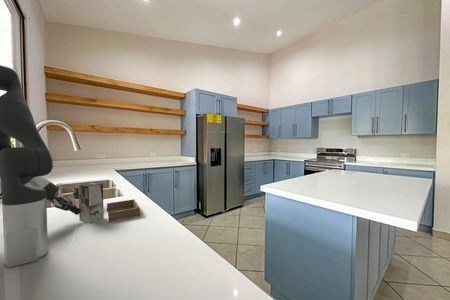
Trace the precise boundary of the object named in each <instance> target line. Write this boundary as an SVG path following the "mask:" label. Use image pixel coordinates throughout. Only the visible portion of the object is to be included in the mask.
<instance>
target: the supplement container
mask: <svg viewBox="0 0 450 300" xmlns="http://www.w3.org/2000/svg"><path fill="white" fill-rule="evenodd" d="M72 190H73V192H72V193H71V195H72V202H73V204H74V206H76V207H78V208H79V190H78V185H75V186H73V187H72Z"/></svg>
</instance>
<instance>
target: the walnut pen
mask: <svg viewBox="0 0 450 300" xmlns="http://www.w3.org/2000/svg"><path fill="white" fill-rule="evenodd" d="M140 209H141V208H140V206H139V204H138V202H137V201H136V199H127V200H120V201H114V202H108V203H106V212H107V215H108V216H107V220H108V221H107V222H108V223H112V222H116V221H121V220H126V219H132V218H137V217H140V216H141V210H140Z"/></svg>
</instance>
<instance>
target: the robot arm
mask: <svg viewBox="0 0 450 300" xmlns="http://www.w3.org/2000/svg"><path fill="white" fill-rule="evenodd" d="M0 91H3V92H5V93H3V94H2V95H0V191H1V207H2V214H1V215H2V240H3V242H2V243H3V256H4V257H3V259H4V260H3V262H4V263H3V264H4V265H5V266H6V269H7V268H8V269H9V268H12V267H16V266H20V265H21V266H22V265H26V264H28V263H33V262H37V261H39V259H40V258H42V257H44V256H45V255H47V253H48V251H49V243H48V240H49V237H48V236H49V235H48V209H47V206H48V204H47V201H49V202H51V205H53V206H54V208H56V209H59V210H62V211H65V212H68V211H70V212H71V213H72V214H74V215H76V216H77V215H79V213H80V212H81V209H79V208H78V207H76V206H74V204H73V200H71V199H70V198H69V197H68V196H67V195H66V194H62V193H58V192H59V191H60V189H61V188H60V187H59V186H57V185H56V184H54V183H53V182H51V181H50V180H48V179H47V178H45V177H44V176H47V175H49V174H51V172H52V170H53V168H54V167H53V165H54V163H53V159H52V155H51V152H50V149H48V146H47V145H46V143H45V141H44V140H43V137H42V136H41V134H40V132H39V130H38V127H37V125H36V122H35V119H34V116H33V114H32V111H31V109H30V107H29V105H28V102H27V100H26V98H25V95H24V92H23V88H22V84H21V79H20V76H19V74H18V72H17V71H16V70H15V69H14V68H12V67H11V66H10V67H9V66H6V65H2V64H0ZM11 139H14V140H16V141H18V142H20V144H22V145H23V146H19V147H18V146H17V147H15V146H14V147H12V143H11Z"/></svg>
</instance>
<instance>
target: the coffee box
mask: <svg viewBox="0 0 450 300" xmlns="http://www.w3.org/2000/svg"><path fill="white" fill-rule="evenodd" d="M77 186H78V190H79V209H81V212H80V213H79V214H78V215H79V216H78V217H79V220H81V221H84V222H86V223H94V222H97V221H99V220H102V219H104V218H105V215H104V213H105V212H104V184H103V183H99V182H93V181H90V182H85V183H80V184H77Z"/></svg>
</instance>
